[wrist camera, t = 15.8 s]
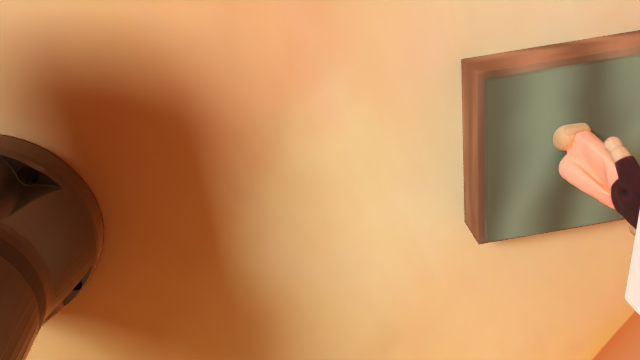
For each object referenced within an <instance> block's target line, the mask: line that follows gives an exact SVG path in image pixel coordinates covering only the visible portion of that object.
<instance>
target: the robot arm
mask: <svg viewBox="0 0 640 360" xmlns="http://www.w3.org/2000/svg"><path fill="white" fill-rule="evenodd" d="M103 241H104V226H103V219H102V215H101V212H100V209H99V206H98V204H97V201H96V199H95V197H94V196H93V194H92V192H91V191H90V189H89V188H88V186H87V185H86V183H85V182H84V181H83V180H82V179H81V177H80V176H79V175H78V174H77V173H76V172H75V171H74V170H73V169H72V168H71V167H69V166H68V165H67V164H66V163H64V162H63V161H62V160H60V159H59V158H58V157H56V156H55V155H53V154H51V153H50V152H48V151H46V150H44V149H42V148H40V147H38V146H36V145H34V144H31V143H29V142H26V141H23V140H20V139H17V138H13V137H9V136H4V135H0V360H26V358H27V355H28V353H29V351H30V349H31V347H32V345H33V343H34V340H35V338H36V336H37V334H38V332H39V330H40V328H41V326H42V325H43V324H44V323H46V322H47V321H48V320H49V319H50V318H51V317H53V316H54V315H55V314H56V313H57V312H58V311H60V310H61V309H62V307H63V306H65V305H66V304H68V303H69V302H70V301H71V300H72V299H73V298H74V297H76V296H77V295H78V294H79V293H80V291H81V290H82V289H83V288H84V286H85V285H86V284H87V282H88V281H89V279H90V277H91V276H92V273H93V271H94V269H95V266H96V264H97V262H98V259H99V257H100V254H101V251H102V247H103ZM625 299H626V301H627V302H628V303H629V304H630V305H631V306H632V307H633V308H634V309H635V310H636V311H637V313H638V314H639V315H640V211H639V217H638V223H637V229H636V235H635V241H634V246H633V252H632V258H631V264H630V270H629V276H628V282H627V287H626V293H625Z"/></svg>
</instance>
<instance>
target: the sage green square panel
mask: <svg viewBox="0 0 640 360" xmlns="http://www.w3.org/2000/svg"><path fill="white" fill-rule="evenodd" d="M461 64H462V112H463V161H464V209H465V223H466V225H467V226H468V228H469V230H470V231H471V233H472V234H473V236H474V238H475V239H476V241H477V242H478V244H484V243H489V242H495V241H501V240H507V239H513V238H518V237H524V236H530V235H536V234H542V233H547V232H553V231H559V230H565V229H571V228H576V227H582V226H588V225H594V224H600V223H605V222H611V221H617V220H623V219H625V218H624V217H623V216H622V215H621V214H619V213H618V212H617V211H616V210H615V209H613V208H610V207H609V206H607V205H605V204H603V203H602V202H600V201H599V200H597V199H596V198H594V197H592V196H590V195H588V194H587V193H585V192H583V191H581V190H580V189H578V188H577V187H575V186H574V185H572V184H570V183H569V182H568V181H567V180H565V179H564V178H562V177H561V175H560V173H559V164H560V161H561V160H562V159H563V158H564V157H565V155H567V151H561V150H558V149H556V148H555V146H554V145H553V135H554V132H555V131H556V130H557V129H558V128H559V127H561V126H563V125H568V124H575V123H587V124H588V125H589V126H590V128H591V132H592V133H593V134H594V135H595V136H597V137H598V138H599V139H600V140H601V141H602V142H603V143H604V142H605V140H606V139H607V138H609V137H613V136H615V137H618V138H619V139H620V140H621V141H622V143H623V147H626V148H627V150H628V151H629V152H630V154H631V155H632V156H633V157H635V159H636V161H637V162H638V164H639V166H640V30H639V31H633V32H627V33H621V34H615V35H608V36H602V37H596V38H590V39H584V40H578V41H572V42H565V43H559V44H553V45H547V46H541V47H535V48H528V49H522V50H516V51H510V52H504V53H498V54H492V55H485V56H479V57H473V58H467V59H461Z"/></svg>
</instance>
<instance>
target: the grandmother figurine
mask: <svg viewBox="0 0 640 360" xmlns="http://www.w3.org/2000/svg"><path fill="white" fill-rule="evenodd" d="M553 145H554V146H555V148H556V149H558V150H561V151H567V155H565V157H564V158H563V159H562V160H561V161H560V164H559V173H560V175H561V177H562V178H564V179H565V180H567V181H568V182H569V183H570V184H572V185H574V186H575V187H577V188H578V189H580V190H581V191H583V192H585V193H587V194H588V195H590V196H592V197H594V198H596V199H597V200H599V201H600V202H602V203H603V204H605V205H607V206H609V207H610V208H613V209H615V210H616V211H617V212H618V213H619V214H621V215H622V216H623V217H624V218H625V219H626V220H627V221H628V222H629V223H630V227H629V229H630V232H631V233H632V234H633V235H636V229H637V223H638V217H639V211H640V166H639V164H638V162H637V161H636V159H635V157H633V156H632V155H631V154H630V152H629V151H628V150H627V148H626V147H623V143H622V141H621V140H620V139H619V138H618V137H615V136H613V137H609V138H607V139H606V140H605V142H604V143H603V142H602V141H601V140H600V139H599V138H598V137H597V136H595V135H594V134H593V133H592V132H591V128H590V126H589V125H588V124H587V123H575V124H568V125H563V126H561V127H559V128H558V129H557V130H556V131H555V132H554V135H553Z"/></svg>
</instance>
